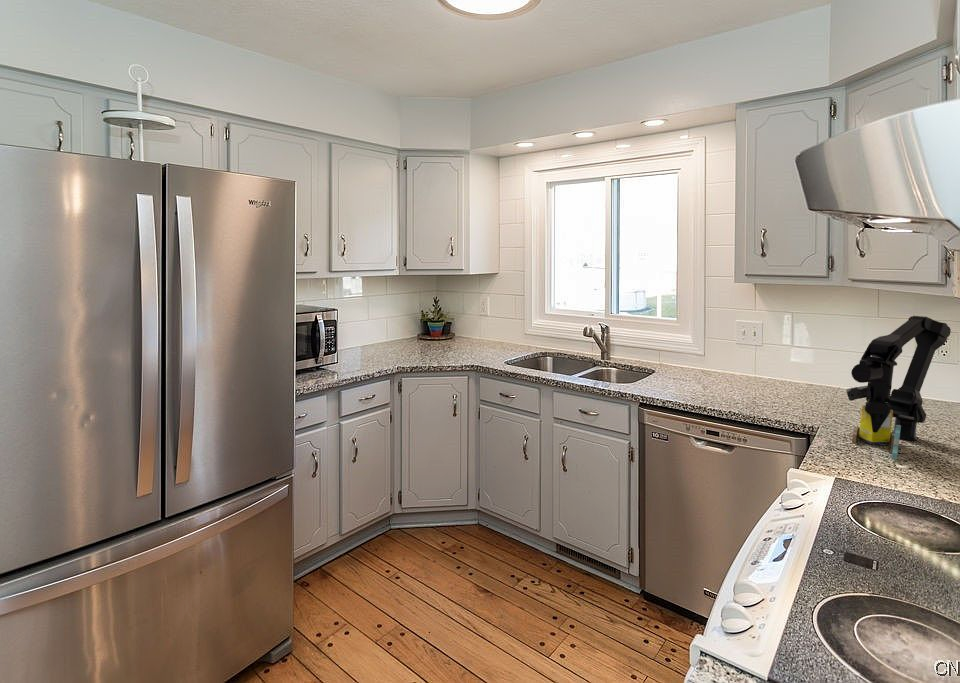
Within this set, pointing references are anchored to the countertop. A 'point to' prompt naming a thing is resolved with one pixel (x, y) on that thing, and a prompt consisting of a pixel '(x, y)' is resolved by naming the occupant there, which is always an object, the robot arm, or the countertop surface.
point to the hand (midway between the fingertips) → (874, 428)
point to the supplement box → (875, 437)
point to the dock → (856, 435)
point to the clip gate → (896, 442)
